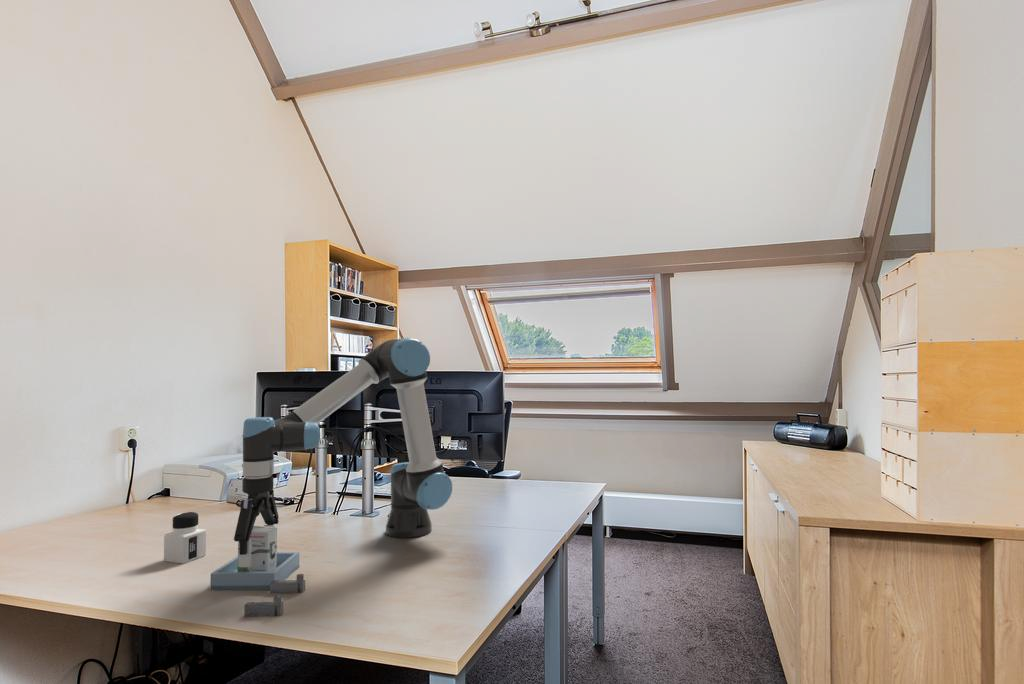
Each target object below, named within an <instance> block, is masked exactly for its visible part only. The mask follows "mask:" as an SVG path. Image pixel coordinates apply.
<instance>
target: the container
mask: <svg viewBox="0 0 1024 684" xmlns="http://www.w3.org/2000/svg"><path fill="white" fill-rule="evenodd" d="M163 539H164V540H163V561H164V562H167V563H175V564H182V565H184V564H187V563H190V562H192V561H195V560H198V559H200V558H202V557H205V556H206V555H207V554H206V551H207V548H206V547H207V530H206V529H204V528H203V529H202V528H199V513H198V512H195V511H186V512H180V513H177V514H175V515H173V516H172V531H171V532H168V533H165V534H164V535H163Z"/></svg>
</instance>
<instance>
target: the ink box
mask: <svg viewBox="0 0 1024 684" xmlns="http://www.w3.org/2000/svg"><path fill="white" fill-rule="evenodd" d="M249 540H251V566H250V567H239V541H237V542H238V544H237V556H238V569H237V572H272V571H274V570H275V569H276V564H277V552H278V528H277V526H275V527H265V526H264V525H263V526H262V525H261V526H260V525H254V526H253V529H252V532H251V535H250V538H249Z"/></svg>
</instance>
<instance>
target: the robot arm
mask: <svg viewBox="0 0 1024 684" xmlns="http://www.w3.org/2000/svg"><path fill="white" fill-rule="evenodd" d="M430 363H431V355H430V351H429V349H428V347H427V345H425V344H424V343H423V342H422V341H421V340H418V339H416V338H411V337H403V338H398V339H389V340H386V341H384V342H382V343H380V344H378V346H376V347H374V349H372V350H371V351H369V352H368V353H366V355H364V356H363V357H362V358H359V360H358V364H357V365H355V366H354V367H353V368H351V369H349V370H348V371H347V372H345V374H343V375H342V376H340V377H339V378H337V379H336V380H334V381H333V382H332V383H330V384H329V385H327V386H326V387H325V388H323V389H322V390H320V391H319V392H318V393H316V394H315V395H313V396H312V397H310V398H309V399H308V400H306V401H305V402H304V403H302V404H301V405H300V406H298V407H297V408H295V409H294V410H292V411H291V412H290V413H288V414H287V415H285V416H284V417H283V418H278V419H276V420H275V419H274V418H273V417H271V416H262V417H261V416H257V417H250V418H249V417H248V418H246V419H245V420H244V422H243V430H242V464H241V467H242V476H243V479H242V489H241V490H242V492H243V493H244V494H247V499H241V501H240V510H239V515H238V518H237V519H238V520H237V522H236V528H235V532H234V536H233V541H234V542H238V541H239V567H250V566H251V540H249V538H250V535H251V532H252V529H253V526H255V522H256V520H257V517H259V515H261V517H262V520H263V522H264V525H263V526H265V527H276V526H275V525H278V524H279V514H278V509H277V504H276V500H275V493H274V476H273V474H274V473H275V472H274V471H275V470H274V469H275V468H274V467H275V466H274V465H275V463H274V461H275V460H274V459H275V458H274V455H275V453H279V452H289V451H299V450H300V451H301V450H303V451H304V450H305V451H307V450H311V449H317V447H319V445H320V442H321V429H320V425H319V423H321V422H322V421H324V420H325V419H327V418H328V417H329V416H331V415H332V414H333V413H334V412H336V411H337V410H338V409H340V408H341V407H342V406H344V405H345V404H347V403H348V402H349V401H351V400H352V399H353V398H355V397H356V396H357V395H358V394H360V393H362V392H363V391H364V390H365V389H368V387H369V386H371V385H372V384H374V385H375V384H376V385H377V384H379V383H380V382H382V381H383V380H385V379H387V378H389V383H390V386H392V387H393V388H394V389H396V394H397V400H398V406H399V411H400V412H399V413H400V418H401V422H402V428H403V429H402V430H403V434H404V439H405V445H406V450H407V456H408V461H405V462H398V463H395V464H392V466H391V470H390V475H389V477H390V512H389V514H388V518H387V521H386V524H385V535H387V536H389V537H393V538H399V539H401V538H403V539H406V538H416V537H420V536H425V535H427V534H429V533H430V532H431V531H432V530H433V528H432V527H433V526H432V525H433V523H432V521H431V518H430V514H429V512H428V510H434V511H435V510H438V509H440V508H442V507H443V506H444V505H446V504H447V503H448V501H449V499H450V498H451V496H452V493H453V481H452V479H451V478H450V476H449V475H448V474H446V473H445V470H444V464H443V461H442V460H441V459H440V458H438V457H437V453H436V448H435V447H436V446H435V443H434V436H433V429H432V425H431V419H430V414H429V413H430V412H429V407H428V402H427V394H426V391H425V383H426V381H427V380H428V373H427V370H428V368H429V366H430Z"/></svg>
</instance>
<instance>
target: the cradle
mask: <svg viewBox="0 0 1024 684" xmlns="http://www.w3.org/2000/svg"><path fill="white" fill-rule="evenodd" d="M304 577H305V576H304V573H299V574H296V579H293V580H292V579H290V580H289V579H287V580H286V579H285V580H273V581H272V582H271V583H270V591H269V592H270V594H277V595H274V596H273V601H251V602H250V601H248V602H246V603H245V604H244V615H243V616H244V617H282V615H283V614H284V601H282V595H281V594H302V593H304V592H305V591H306V579H305V578H304Z"/></svg>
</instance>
